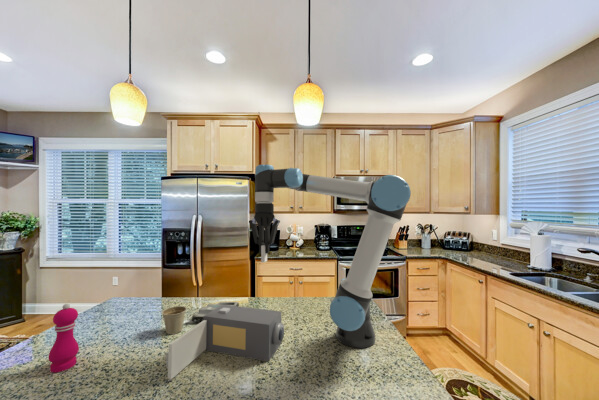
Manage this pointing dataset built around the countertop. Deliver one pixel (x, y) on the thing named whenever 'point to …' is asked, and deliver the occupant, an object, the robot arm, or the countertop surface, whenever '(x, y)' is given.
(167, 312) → the flower pot
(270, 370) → the countertop surface
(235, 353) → the camera body
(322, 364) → the countertop surface
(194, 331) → the side door
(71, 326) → the pepper mill
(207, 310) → the camcorder
